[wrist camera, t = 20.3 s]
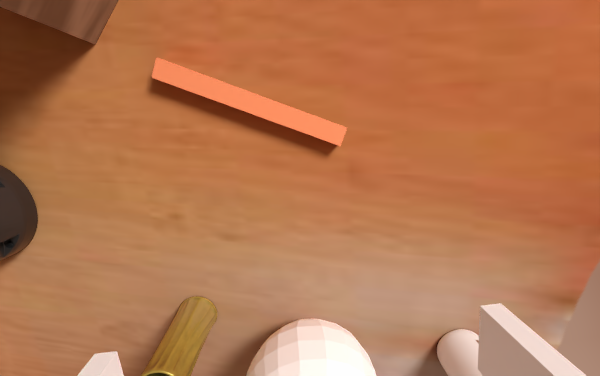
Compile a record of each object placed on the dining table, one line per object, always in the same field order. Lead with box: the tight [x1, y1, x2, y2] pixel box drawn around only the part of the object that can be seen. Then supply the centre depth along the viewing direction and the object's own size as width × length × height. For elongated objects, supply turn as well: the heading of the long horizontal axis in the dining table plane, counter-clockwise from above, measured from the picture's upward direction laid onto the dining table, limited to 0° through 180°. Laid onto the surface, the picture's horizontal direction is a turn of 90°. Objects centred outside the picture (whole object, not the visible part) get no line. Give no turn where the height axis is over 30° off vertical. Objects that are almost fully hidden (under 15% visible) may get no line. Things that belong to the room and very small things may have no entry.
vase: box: [141, 296, 217, 376], centre depth 41 cm, size 6×6×14 cm
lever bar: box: [152, 57, 347, 146], centre depth 41 cm, size 26×3×3 cm, turn 70°
